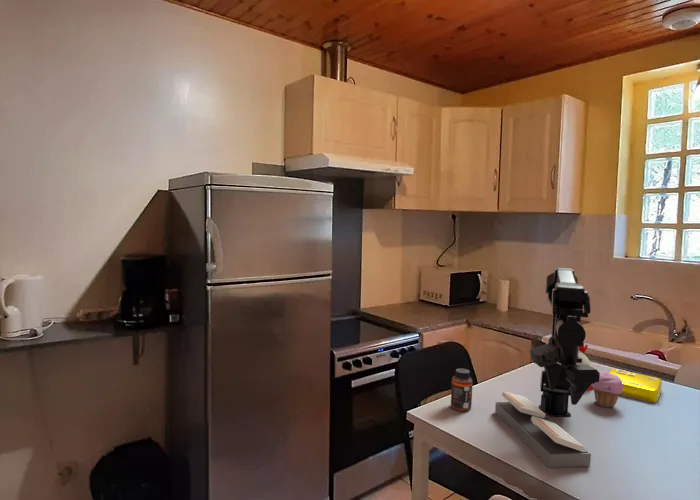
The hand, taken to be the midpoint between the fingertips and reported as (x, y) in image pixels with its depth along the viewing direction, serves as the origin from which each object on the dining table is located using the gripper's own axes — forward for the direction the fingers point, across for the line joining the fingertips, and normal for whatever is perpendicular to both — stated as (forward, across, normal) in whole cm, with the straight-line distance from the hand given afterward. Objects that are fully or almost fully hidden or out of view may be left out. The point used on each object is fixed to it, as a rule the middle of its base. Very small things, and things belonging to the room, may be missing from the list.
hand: (562, 396), depth 110 cm
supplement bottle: (+12, -21, -18) cm, 30 cm away
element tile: (+13, -32, +46) cm, 57 cm away
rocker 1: (+7, -12, -4) cm, 14 cm away
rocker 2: (+7, +4, -4) cm, 9 cm away
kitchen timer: (+12, -39, +29) cm, 50 cm away
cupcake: (+12, -21, +28) cm, 37 cm away
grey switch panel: (+12, -4, -4) cm, 13 cm away
